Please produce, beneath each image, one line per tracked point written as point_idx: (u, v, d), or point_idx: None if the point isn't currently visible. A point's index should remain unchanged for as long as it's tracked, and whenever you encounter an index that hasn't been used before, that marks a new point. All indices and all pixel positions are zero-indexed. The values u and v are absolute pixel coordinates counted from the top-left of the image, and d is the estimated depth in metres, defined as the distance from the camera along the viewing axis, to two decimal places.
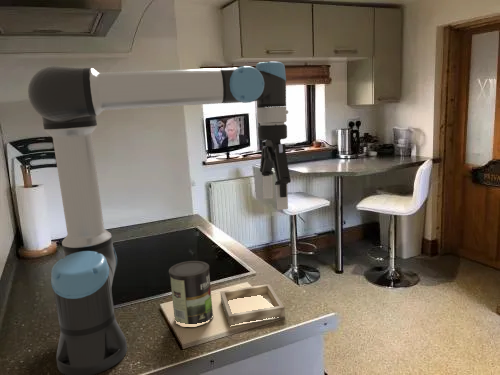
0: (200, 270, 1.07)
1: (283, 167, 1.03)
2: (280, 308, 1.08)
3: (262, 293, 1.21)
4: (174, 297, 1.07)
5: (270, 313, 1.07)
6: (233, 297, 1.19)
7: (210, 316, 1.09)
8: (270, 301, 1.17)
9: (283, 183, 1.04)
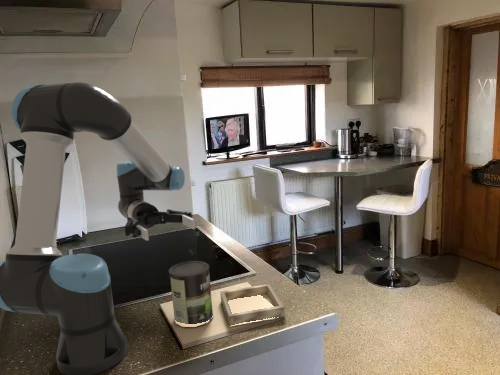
0: (200, 270, 1.07)
1: None
2: (280, 308, 1.08)
3: (262, 293, 1.21)
4: (174, 297, 1.07)
5: (270, 313, 1.07)
6: (233, 297, 1.19)
7: (210, 316, 1.09)
8: (270, 301, 1.17)
9: (190, 216, 1.25)
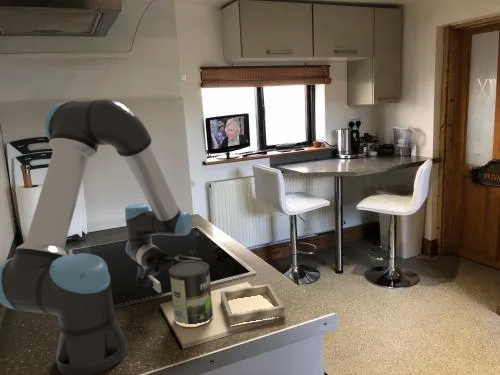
0: (200, 270, 1.07)
1: None
2: (280, 308, 1.08)
3: (262, 293, 1.21)
4: (174, 297, 1.07)
5: (270, 313, 1.07)
6: (233, 297, 1.19)
7: (210, 316, 1.09)
8: (270, 301, 1.17)
9: None
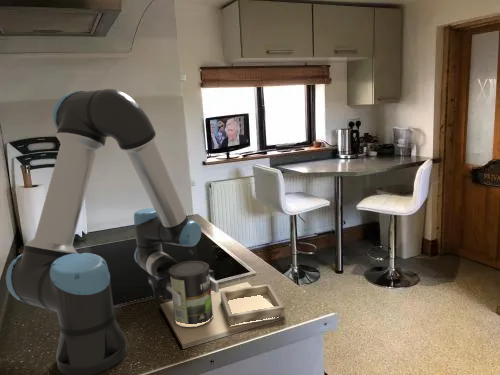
0: (200, 270, 1.07)
1: None
2: (280, 308, 1.08)
3: (262, 293, 1.21)
4: None
5: (270, 313, 1.07)
6: (233, 297, 1.19)
7: (210, 316, 1.09)
8: (270, 301, 1.17)
9: (211, 275, 1.16)
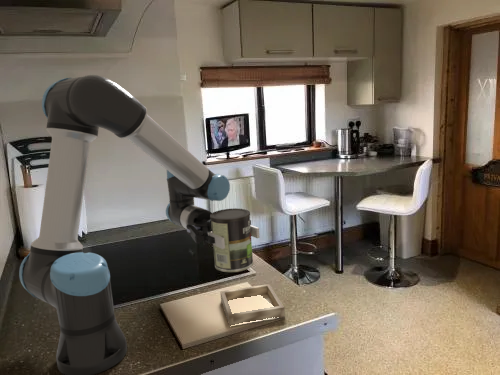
0: (242, 215, 1.07)
1: None
2: (280, 308, 1.08)
3: (262, 293, 1.21)
4: None
5: (270, 313, 1.07)
6: (233, 297, 1.19)
7: (251, 261, 1.10)
8: (270, 301, 1.17)
9: None
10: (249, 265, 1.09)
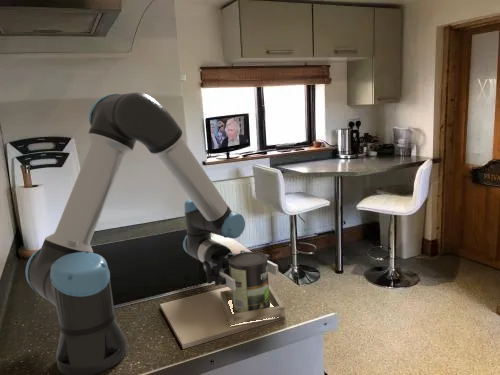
0: (260, 260, 1.10)
1: None
2: (280, 308, 1.08)
3: None
4: None
5: (270, 313, 1.07)
6: None
7: (268, 306, 1.12)
8: (270, 301, 1.17)
9: (268, 259, 1.20)
10: None
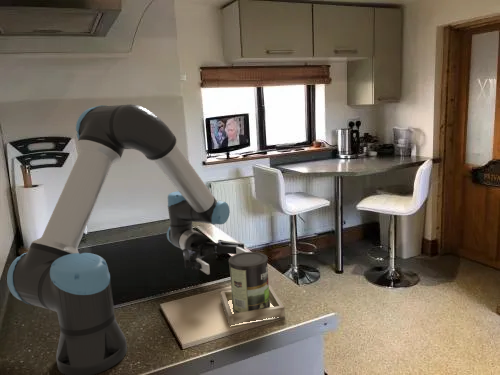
0: (260, 260, 1.10)
1: None
2: (280, 308, 1.08)
3: None
4: (234, 287, 1.09)
5: (270, 313, 1.07)
6: None
7: (268, 306, 1.12)
8: (270, 301, 1.17)
9: (242, 247, 1.30)
10: None
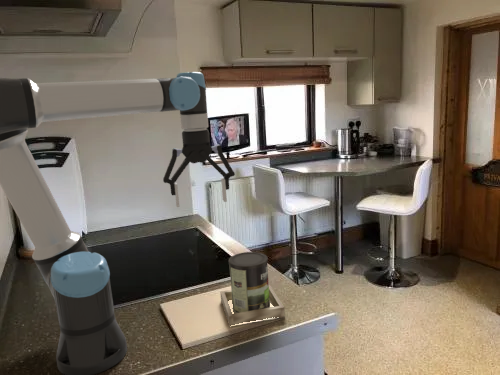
0: (260, 261, 1.10)
1: None
2: (280, 308, 1.08)
3: None
4: (234, 287, 1.09)
5: (270, 313, 1.07)
6: None
7: (268, 306, 1.12)
8: (270, 301, 1.17)
9: None
10: None
